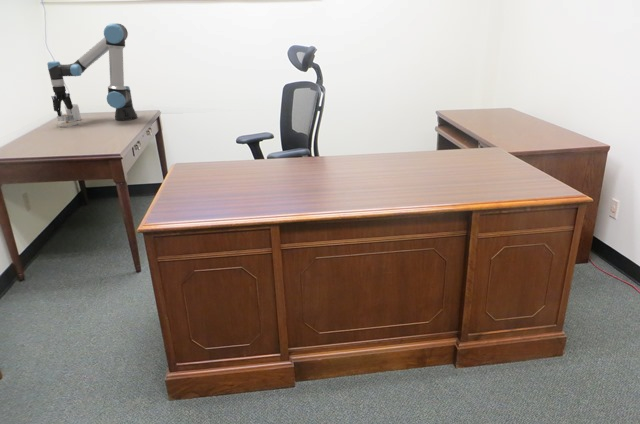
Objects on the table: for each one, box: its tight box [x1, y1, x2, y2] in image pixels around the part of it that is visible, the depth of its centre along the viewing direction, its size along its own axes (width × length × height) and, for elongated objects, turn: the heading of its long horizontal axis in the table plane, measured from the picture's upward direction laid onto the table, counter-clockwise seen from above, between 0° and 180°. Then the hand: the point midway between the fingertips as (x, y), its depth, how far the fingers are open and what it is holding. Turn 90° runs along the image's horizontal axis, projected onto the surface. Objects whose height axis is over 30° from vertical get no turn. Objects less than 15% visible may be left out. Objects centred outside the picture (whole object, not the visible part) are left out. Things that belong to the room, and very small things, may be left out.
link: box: [56, 114, 74, 122], centre depth 319 cm, size 7×7×3 cm
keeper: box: [56, 114, 79, 128], centre depth 320 cm, size 9×9×6 cm
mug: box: [64, 103, 82, 122], centre depth 336 cm, size 9×12×11 cm
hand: (66, 119), depth 319 cm, fingers closed on link, 7 cm apart
